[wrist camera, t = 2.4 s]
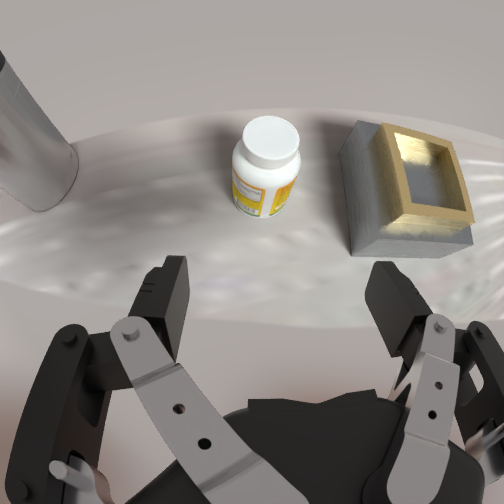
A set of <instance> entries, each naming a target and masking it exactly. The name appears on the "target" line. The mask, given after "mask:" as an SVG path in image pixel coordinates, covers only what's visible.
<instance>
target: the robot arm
mask: <svg viewBox="0 0 504 504" xmlns="http://www.w3.org/2000/svg"><path fill="white" fill-rule="evenodd" d="M77 170H78V157H77V154H76V153H75V151H74V150H73V149H72V147H71V146H70V145H69V144H68V143H67V141H66V140H65V139H64V138H63V136H62V135H61V134H60V132H59V131H58V130H57V129H56V127H55V126H54V125H53V124H52V123H51V121H50V120H49V118H48V117H47V116H46V115H45V113H44V112H43V111H42V109H41V108H40V107H39V105H38V104H37V103H36V101H35V100H34V99H33V97H32V96H31V95H30V93H29V92H28V91H27V89H26V88H25V86H24V85H23V84H22V82H21V81H20V79H19V78H18V77H17V75H16V74H15V72H14V71H13V69H12V68H11V66H10V65H9V63H8V62H7V60H6V59H5V57H4V55H3V54H2V52H1V51H0V188H1V189H2V190H4V191H5V192H7V193H8V194H10V195H11V196H12V197H14V198H15V199H17V200H18V201H20V202H21V203H23V204H24V205H26V206H27V207H29V208H30V209H32V210H33V211H37V212H41V211H45V210H48V209H50V208H52V207H53V206H55V205H56V204H57V203H58V202H60V201H61V199H62V198H63V197H64V196H65V195H66V194H67V192H68V191H69V189H70V188H71V186H72V184H73V182H74V180H75V177H76V174H77ZM189 294H190V288H189V278H188V268H187V259H186V256H172V255H168V256H167V257H166V259H165V262H164V264H163V266H162V267H154V268H153V269H152V270H151V271H150V272H149V273H148V274H146V277H145V279H144V281H143V285H141V287H140V290H139V292H138V294H137V296H136V298H135V301H134V303H133V305H132V308H131V310H130V312H129V315H128V317H126V318H123V319H121V320H119V321H118V322H116V323H115V325H113V327H112V329H111V331H109V332H104V333H98V334H90V335H89V334H88V333H87V330H86V329H85V328H84V327H83V326H81V325H77V324H70V325H67V326H65V327H63V328H61V329H60V330H59V331H58V332H57V333H56V334H55V336H54V338H53V340H52V342H51V344H50V346H49V348H48V351H47V353H46V355H45V357H44V359H43V362H42V364H41V366H40V368H39V371H38V373H37V376H36V378H35V381H34V383H33V386H32V388H31V391H30V394H29V396H28V399H27V402H26V405H25V407H24V410H23V413H22V416H21V419H20V423H19V426H18V429H17V432H16V436H15V440H14V443H13V447H12V451H11V455H10V459H9V464H8V469H7V473H6V479H5V491H6V494H7V497H8V499H9V501H10V502H11V504H115V503H114V502H113V500H112V498H111V495H110V486H109V482H108V480H107V478H106V477H105V476H104V474H103V473H101V472H100V471H99V470H97V467H98V460H99V453H100V448H101V442H102V436H103V431H104V426H105V421H106V416H107V411H108V406H109V403H110V398H111V394H112V390H120V389H127V388H134V389H135V391H136V393H137V395H138V397H139V399H140V401H141V402H142V404H143V406H144V408H145V410H146V411H147V413H148V415H149V416H150V418H151V420H152V422H153V423H154V425H155V427H156V428H157V430H158V431H159V433H160V435H161V436H162V438H163V439H164V441H165V442H166V444H167V445H168V447H169V448H170V450H171V451H172V453H173V454H174V456H175V457H176V460H175V461H174V462H173V463H172V464H171V465H169V467H167V468H166V469H165V470H164V471H163V472H162V473H161V474H159V475H158V476H157V477H156V478H155V479H154V480H153V481H151V482H150V483H149V484H148V485H147V486H145V487H144V488H143V489H142V490H141V491H139V492H138V493H137V494H136V495H135V496H134V497H132V498H131V499H130V500H128V501H127V502H126V503H125V504H482V499H483V493H484V488H485V487H486V486H487V485H489V484H491V483H493V482H495V481H497V480H499V479H500V478H502V477H504V352H503V351H502V349H501V347H500V346H499V344H498V342H497V341H496V339H495V337H494V336H493V334H492V332H491V331H490V330H489V328H488V327H487V326H486V325H485V324H483V323H481V322H479V321H472V322H471V323H470V324H469V326H468V328H467V329H466V330H462V329H455V327H454V325H453V323H452V322H451V321H450V320H449V319H448V318H446V317H445V316H443V315H440V314H433V312H432V311H431V309H430V308H429V306H428V305H427V303H426V302H425V300H424V299H423V297H422V296H421V294H419V291H418V290H417V289H416V288H415V286H414V284H413V283H412V282H411V280H410V279H409V278H408V277H406V276H405V275H404V274H403V273H401V272H400V271H399V270H398V268H397V267H396V265H395V264H394V263H393V262H392V261H376V262H375V263H374V265H373V268H372V271H371V275H370V278H369V281H368V284H367V287H366V290H365V301H366V304H367V306H368V308H369V310H370V312H371V314H372V316H373V318H374V320H375V323H376V325H377V327H378V329H379V331H380V333H381V335H382V338H383V340H384V342H385V344H386V347H387V349H388V351H389V354H390V355H391V357H392V358H393V357H399V356H402V358H403V360H402V361H401V363H400V365H399V368H398V371H397V374H396V377H395V380H394V382H393V385H392V388H391V391H390V394H389V396H388V398H387V399H384V398H378V397H377V395H376V391H375V389H371V390H365V391H358V392H352V393H346V394H343V395H341V396H338V397H335V398H333V399H330V400H327V401H324V402H321V403H317V404H314V403H306V402H300V401H294V400H288V399H248V408H244V409H240V410H237V411H234V412H232V413H229V414H227V415H225V416H224V417H222V416H221V415H220V414H219V413H218V411H217V410H216V409H215V408H214V407H213V405H212V404H211V403H210V402H209V400H208V399H207V398H206V397H205V395H204V394H203V393H202V391H201V390H200V389H199V388H198V386H197V385H196V384H195V382H194V381H193V380H192V378H191V377H190V376H189V374H188V373H187V371H186V370H185V369H184V367H183V366H182V365H181V364H180V363H177V364H176V358H177V354H178V349H179V344H180V339H181V334H182V330H183V325H184V320H185V316H186V311H187V307H188V302H189ZM475 364H476V365H477V367H478V369H479V370H480V373H481V375H482V377H483V380H484V385H483V388H482V389H481V391H480V392H479V393H478V391H477V389H476V387H475V385H474V382H473V380H472V378H471V376H470V374H469V371H470V370H471V369H472V368H473V366H474V365H475ZM454 414H455V417H456V420H457V423H458V426H459V429H460V432H461V435H462V438H463V442H464V445H465V451H464V450H463V449H461V448H460V447H458V446H457V445H455V444H454V443H453V442H451V441H450V440H449V434H450V430H451V425H452V420H453V415H454Z"/></svg>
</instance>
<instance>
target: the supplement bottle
mask: <svg viewBox="0 0 504 504" xmlns="http://www.w3.org/2000/svg"><path fill="white" fill-rule="evenodd" d="M298 146H299V135H298V132H297V130H296V129H295V127H294V126H293V125H292V124H291V123H290V122H288V121H286V120H285V119H283V118H280V117H276V116H260V117H257V118H255V119H253V120H251V121H250V122H248V123H247V125H246V126H245V127H244V130H243V133H242V138H241V139H240V140H239V141H238V143H237V144H236V146H235V148H234V150H233V155H232V193H233V199H234V202H235V204H236V206H237V207H238V209H239V210H240V211H241V212H243V213H244V214H246V215H247V216H250V217H252V218H259V219H262V218H268V217H271V216H274V215H275V214H277V213H278V212H279V211H280V210H281V209H282V208H283V206H284V205H285V203H286V200H287V198H288V196H289V193H290V191H291V188H292V186H293V184H294V181H295V179H296V177H297V174H298V172H299V169H300V164H301V159H300V154H299V151H298Z"/></svg>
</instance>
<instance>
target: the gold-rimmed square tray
mask: <svg viewBox="0 0 504 504" xmlns="http://www.w3.org/2000/svg"><path fill="white" fill-rule="evenodd" d="M339 155H340V161H341V167H342V174H343V181H344V189H345V197H346V205H347V214H348V224H349V235H350V247H351V256H360V257H404V258H442V257H444V256H447V255H449V254H452V253H454V252H457V251H459V250H462V249H464V248H467V247H469V246H472V245H473V239H472V234H471V228H470V225H472V224H474V223H475V221H474V216H473V212H472V207H471V203H470V199H469V195H468V192H467V188H466V184H465V181H464V178H463V174H462V171H461V168H460V165H459V162H458V159H457V156H456V153H455V150H454V148H453V145H452V142H450V141H447V140H444V139H441V138H438V137H435V136H431V135H428V134H425V133H422V132H418V131H415V130H411V129H407V128H403V127H400V126H396V125H392V124H387V123H383V122H382V124H381V125H378V124H373V123H368V122H363V121H358V120H357V122H356V124H355V126H354V127H353V129H352V131H351V133H350V135H349V136H348V138H347V140H346V142H345V143H344V145H343V147H342V149H341V150H340V152H339Z"/></svg>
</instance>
